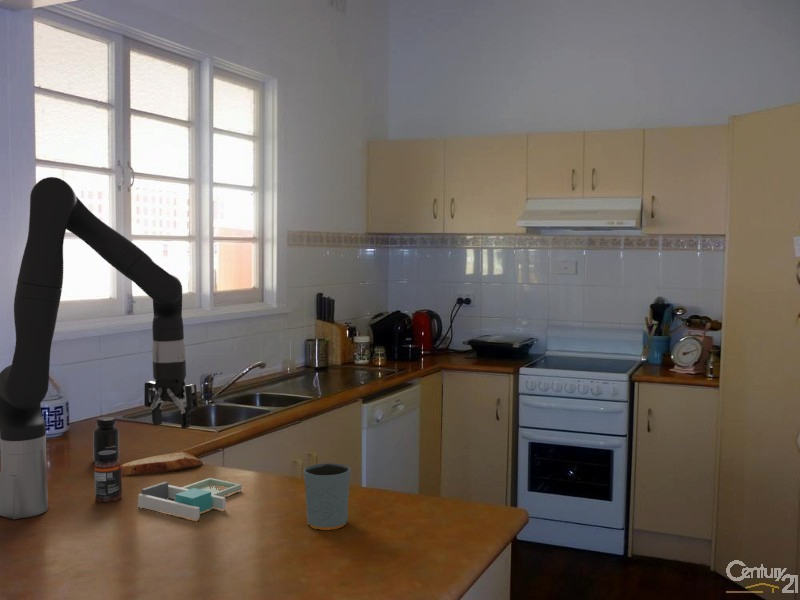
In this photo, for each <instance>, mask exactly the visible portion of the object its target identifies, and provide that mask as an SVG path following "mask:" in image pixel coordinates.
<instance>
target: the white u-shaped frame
mask: <svg viewBox="0 0 800 600" xmlns="http://www.w3.org/2000/svg"><path fill="white" fill-rule="evenodd" d="M187 490H189V489H185V488H181V487H180V486H176V485H173V484H172V485H171V484H169V482H168V481H162V482H160V483H156V484H154V485H151V486H147V487H144V488H141V493H139V494H138V495H137V502H138V503H137V504H138V505H137V506H138V507H140V508H139V509H142V508H146V509H151V510H156V511H162V512H166V513H171V514H175V515H180V516H184V517H188V518H192V519H198V518H200V516H201V515H200V511H199V507H196V506H191V505H187V504H183V503H179V502H176V501H175V500H171V499H167V498H172V499H175V494H178V493H181V492H184V491H187ZM226 498H227V497H226ZM226 498H225V497H221V496H216V495H212V494H211V507H215V508H220V509H224V508H226V509H227V503H226V501H227V499H226ZM166 499H167V500H166ZM138 507H137V508H138ZM146 509H145V510H146ZM200 519H201V518H200Z"/></svg>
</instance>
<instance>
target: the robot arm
mask: <svg viewBox="0 0 800 600" xmlns="http://www.w3.org/2000/svg"><path fill="white" fill-rule="evenodd" d="M66 231H68V232H70V233H71V234H73V235H75V237H78V238H79V239H80V240H81V241H83V242H84V243H85V244H87V245H88V247H90V248H91V249H93V251H94V252H96V254H98V255H99V257H100V258H103V260H104V261H106V262H107V263H108V264H110V266H112V267H113V268H114V269H116V270H117V271H118V272H119V273H120V274H121V275H123V276H125V277H126V278H127V279H129V280H130V281H132V282H133V283H134V284H135V285H137V287H139V288H140V289H141V291H143V292H144V293H145V294H146V295H147V296H148V297H149V298H150V299H151V300H152V309H153V318H152V324H151V325H152V350H151V356H152V357H151V358H152V378H153V380H151V381H146V382H145V383H144V399H143V400H144V406H145V407H147V408H150V410H151V418H152V419H151V421H152V423H153V425H154V426H160V425H162V423H163V411H162V407H163V404H164V403H165V402H169V403H174V404H175V406H177V407H178V408H179V410H180V411H181V413H180V424H181V425H180V426H181V429H182V430H183V429H184V430H185V429H188V428H190V427H191V425H192V424H191V423H192V422H191V421H192V416H191V415H192V411H195V410H197V409H199V403H198V393H197V392H198V391H197V384H195V383H192V384H186V382H185V379H186V377H187V367H186V365H187V360H186V346H185V339H184V337H185V336H184V335H185V332H184V322H183V313H182V312H183V284H182V282H181V281H180V279H179V277H177V276H175V275H173V274H170V273H169V272H167V270H165V269H164V268H162V266H159V265H158V264H157V263H155V262H154V261H153V259H152V258H151V256H149V255H148V254H147V253H146V252H144V250H142V249H141V248H139V247H138V246H137V245H136V244H134V243H133V242H132V241H131V240H130V239H128V238H127V237H125V236H124V235H123V234H121V233H120V232H118V231H116V230H115V229H114V228H112V227H111V226H109V225H108V224H106V223H105V222H104V221H102V220H101V219H100V218H98V217H97V216H96V215H95V214H94V213H93V212H92V211H91V210H90V209H88V207H87V206H86V205H85V204H84V203H83V202H82V201H81V200H80V199H79V197H78V196H77V194H76V192H75V191H74V189H73V187H72V186H71V185H70V184H69V183H68V182H67V181H65V180H63V179H61V178H58V177H55V176H49V177H48V176H47V177H45V178H43V179H41V180H38V182H36V184H34V186H33V187H32V189H31V191H30V197H29V220H28V232H27V238H26V239H27V240H26V243H25V248H24V251H23V255H22V258H21V262H20V267H19V272H18V277H17V283H16V286H15V287H16V288H15V293H14V300H13V319H14V327H15V329H14V330H15V331H14V332H15V345H14V346H15V348H14V353H13V357H12V362H11V364H10V365H8V366H6V367H5V368H4V369H2V370H0V517H5V518H7V519H10V520H17V519H18V520H19V519H24V518H30V517H31V518H32V517H35V516H39V515H41V514H42V515H43V514H44V513H45V512H47V511H48V509H49V506H48V505H49V504H48V503H49V501H48V473H47V472H48V468H47V467H48V465H47V461H48V460H47V435H46V434H47V433H46V431H47V430H46V429H47V427H46V422H45V420H44V417H43V414H42V413H43V412H42V409H41V408H42V405H41V403H42V402H43V401H44V399H45V397H46V396H47V393H48V391H49V381H50V366H51V365H50V364H51V363H50V362H51V360H50V359H51V348H52V342H53V338H54V334H55V329H56V323H57V318H58V312H59V307H60V303H61V296H62V291H63V283H64V282H63V281H64V242H65V235H66Z"/></svg>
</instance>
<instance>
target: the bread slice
mask: <svg viewBox="0 0 800 600" xmlns="http://www.w3.org/2000/svg"><path fill="white" fill-rule="evenodd" d="M202 465H203V461H202V460H201V459H199V458H198V457H196V456H195V455H193V454H192V453H191V454H190V453H188V452H185V451H181V452H175V453H164V454H159V455H152V456H149V457H145V458H139V459H136V460H131V461H129V462H125V463H123V464H122V465H121V476H132V475H133V476H134V475H135V476H136V475H147V474H157V473H159V472H160V473H167V472H168V471H169V472H175V470H177V471H181V470H180V469H184V470H186V469H185V468H188V469H193V468H192V467H194V468H197V466H198V467H200V466H202ZM160 473H159V474H160Z"/></svg>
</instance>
